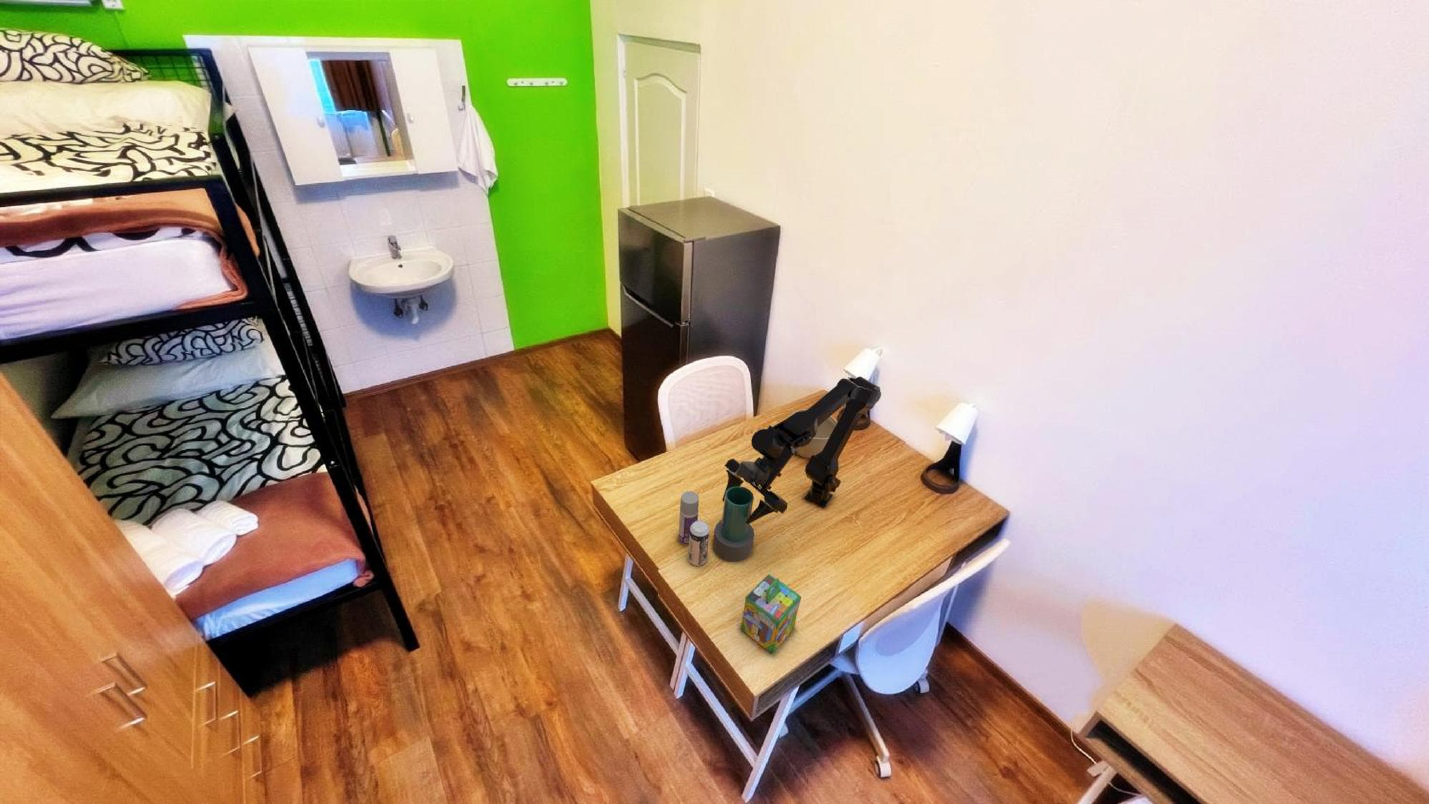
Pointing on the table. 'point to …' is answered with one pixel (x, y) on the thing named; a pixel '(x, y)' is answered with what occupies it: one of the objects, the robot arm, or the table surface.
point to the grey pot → (732, 545)
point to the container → (687, 515)
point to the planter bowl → (817, 438)
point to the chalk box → (770, 612)
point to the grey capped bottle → (698, 542)
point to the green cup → (736, 513)
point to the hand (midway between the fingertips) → (734, 512)
